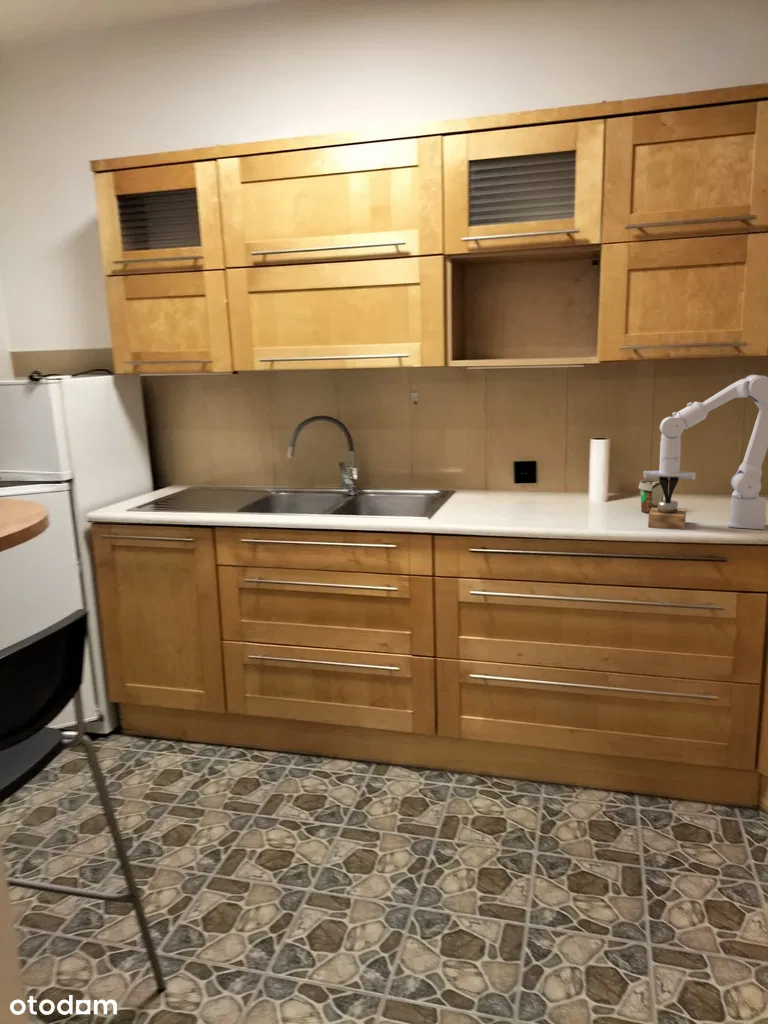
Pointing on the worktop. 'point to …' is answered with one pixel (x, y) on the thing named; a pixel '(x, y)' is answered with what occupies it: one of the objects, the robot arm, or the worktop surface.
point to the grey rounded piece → (667, 507)
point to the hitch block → (667, 519)
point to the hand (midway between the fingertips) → (668, 502)
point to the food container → (650, 494)
